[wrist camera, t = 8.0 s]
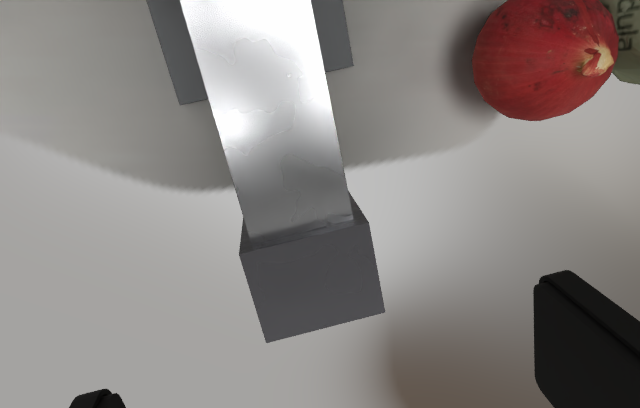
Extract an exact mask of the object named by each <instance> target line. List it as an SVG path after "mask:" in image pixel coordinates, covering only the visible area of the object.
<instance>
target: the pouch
mask: <svg viewBox="0 0 640 408" xmlns="http://www.w3.org/2000/svg"><path fill="white" fill-rule="evenodd" d="M599 1H600V2H601V3H602V4H603V6H604V7H605V8H606V9H607V10H608V11H609V12H610V13H611V14H612V16H613V19H614V23H615V27H616V31H617V33H618V36H619V43H618V57H617V60H616V62H615V65H614V67H613V70H612V72H611V73H613V74H614V75H615V76H616V77H617V78H618V79H619V80H620V81H623V82H628V83H633V84H640V0H599Z"/></svg>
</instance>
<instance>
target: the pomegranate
mask: <svg viewBox="0 0 640 408" xmlns="http://www.w3.org/2000/svg"><path fill="white" fill-rule="evenodd" d="M618 43H619V36H618V33H617V31H616V27H615V23H614V19H613V16H612V14H611V13H610V12H609V11H608V10H607V9H606V8H605V7H604V6H603V4H602V3H601V2H600V1H599V0H508V1H506V2H505V3H504V4H502V5H501V6H500V7H499V8H497V9H496V10H495V11H493V12H492V13H491V14H490V16H489V18H488V19H487V21H486V23H485V25H484V26H483V28H482V30H481V31H480V33H479V35H478V37H477V41H476V45H475V49H474V53H473V57H472V66H473V75H474V83H475V85H476V87H477V88H478V90H479V92H480V94H481V95H482V97H483V99H484V101H485V102H487V103H488V104H489V105H491V106H492V107H493V108H495V109H496V110H497V111H499V112H500V113H501V114H503V115H505V116H507V117H509V118H515V119H521V120H528V121H541V120H544V119H549V118H552V117H556V116H560V115H564V114H567V113H569V112H571V111H573V110H574V109H576V108H577V107H579V106H580V105H582V104H583V103H584V102H586V101H588V100H589V99H590V98H591V97H593V96H594V94H595V93H596V92H597V91H598V90H599V89H600V87H601V86H602V85H603V84H604V83H605V81H606V80H607V79H608V78H609V77H610V75H611V72H612V70H613V67H614V65H615V62H616V60H617V57H618Z"/></svg>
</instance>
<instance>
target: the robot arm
mask: <svg viewBox="0 0 640 408" xmlns="http://www.w3.org/2000/svg"><path fill="white" fill-rule="evenodd" d="M534 354H535V355H534V357H535V379H536V382H537V384H538V386H539V388H540V390H541V391H542V393H543V394H544V395H545V397H546V398H547V399H548V400H549V402H550V403H551V404H552V405H553V407H555V408H640V321H638V320H637V319H636V318H634V317H633V316H631V315H630V314H629V313H627V312H626V311H625V310H623V309H622V308H621V307H619V306H618V305H617V304H615V303H614V302H613V301H611V300H610V299H608V298H607V297H606V296H604V295H603V294H601V293H600V292H599V291H598V290H596V289H595V288H594V287H592V286H591V285H589V284H588V283H587V282H585V281H584V280H583V279H581V278H580V277H579V276H577V275H576V274H575V273H573V272H571V271H569V270H565V271H561V272H557V273H553V274H549V275H545V276H543V277H541V278H540V280H539V284H537V285H535V287H534ZM69 408H126V407H125V405H124V403H123V401H122V399H121V397H120V396H119V395H118V394H117V393H116V394H112V393H111V392H110V391H109V390H108V389H102V390H98V391H94V392H90V393H86V394H82V395H79V396H77V397H75V399H74V400H73V402H72V403H71V405H70V407H69Z"/></svg>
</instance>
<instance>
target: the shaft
mask: <svg viewBox="0 0 640 408" xmlns="http://www.w3.org/2000/svg"><path fill="white" fill-rule="evenodd" d="M180 3H181V6H182V10H183V13H184V17H185V20H186V23H187V27H188V30H189V34H190V37H191V40H192V44H193V47H194V51H195V54H196V57H197V61H198V64H199V68H200V71H201V74H202V78H203V81H204V85H205V88H206V91H207V95H208V98H209V102H210V105H211V108H212V112H213V115H214V119H215V122H216V125H217V129H218V132H219V136H220V139H221V142H222V146H223V149H224V153H225V156H226V159H227V163H228V166H229V170H230V173H231V176H232V180H233V183H234V186H235V190H236V193H237V197H238V200H239V203H240V207H241V210H242V214H243V226H242V234H241V242H240V252H239V256H240V259H241V262H242V266H243V269H244V272H245V275H246V278H247V282H248V285H249V288H250V291H251V295H252V298H253V301H254V305H255V308H256V311H257V314H258V318H259V320H260V324H261V327H262V331H263V333H264V337H265V340H266V343H268V342H272V341H276V340H280V339H284V338H288V337H292V336H296V335H299V334H303V333H307V332H311V331H315V330H319V329H323V328H326V327H330V326H334V325H338V324H342V323H346V322H350V321H354V320H357V319H361V318H365V317H369V316H373V315H377V314H381V313H384V312H385V309H384V303H383V298H382V292H381V287H380V281H379V276H378V270H377V265H376V259H375V254H374V248H373V243H372V238H371V232H370V227H369V222H368V221H367V219H366V218H365V216H364V214H363V213H362V211H361V210H360V208H359V207H358V205H357V204H356V202H355V201H354V199H353V198H352V196H351V194H350V193H349V191H348V189H347V184H346V178H345V173H344V168H343V163H342V158H341V153H340V148H339V143H338V138H337V133H336V128H335V122H334V117H333V112H332V107H331V102H330V97H329V92H328V87H327V82H326V77H325V72H324V66H323V61H322V56H321V51H320V46H319V41H318V36H317V31H316V26H315V21H314V16H313V11H312V5H311V0H180Z"/></svg>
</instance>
